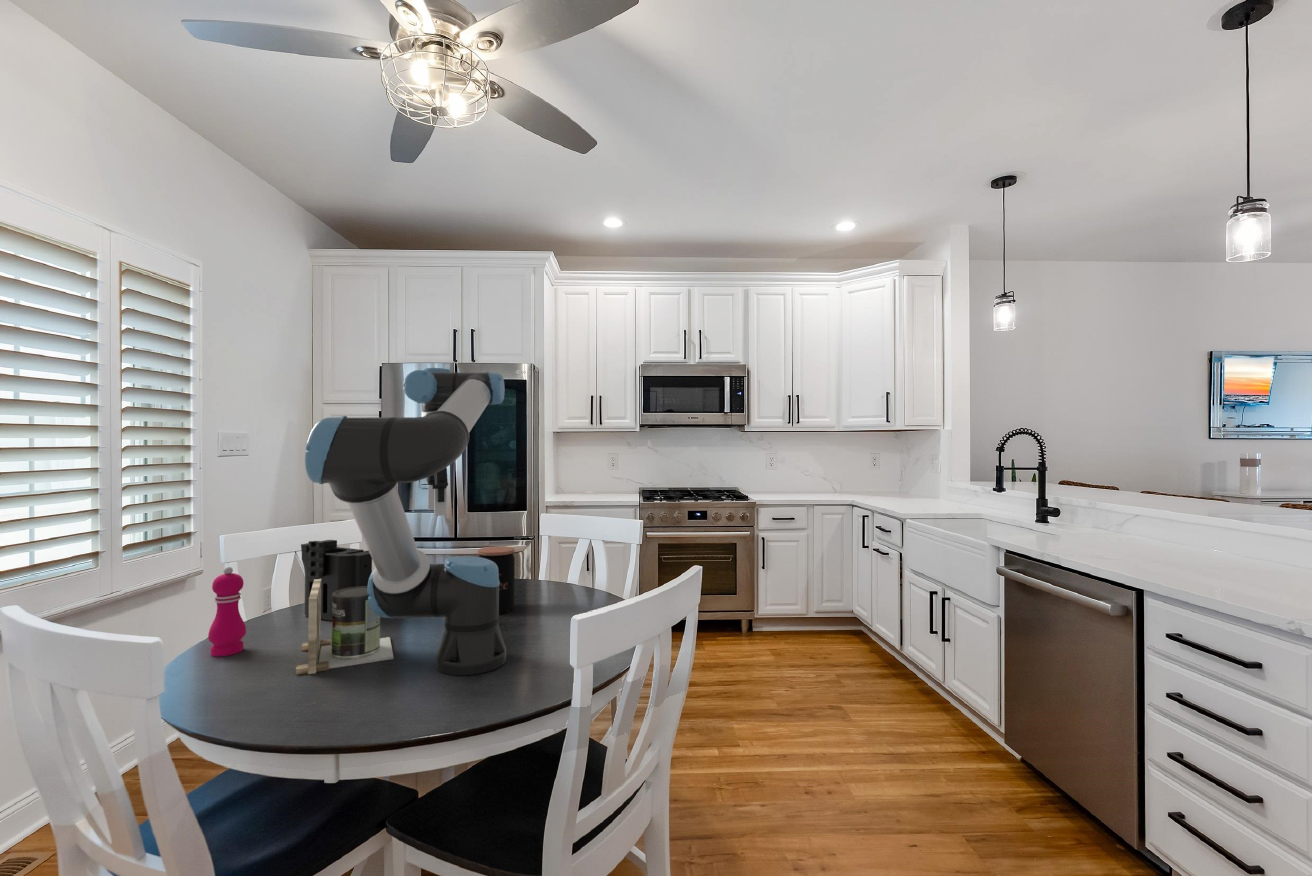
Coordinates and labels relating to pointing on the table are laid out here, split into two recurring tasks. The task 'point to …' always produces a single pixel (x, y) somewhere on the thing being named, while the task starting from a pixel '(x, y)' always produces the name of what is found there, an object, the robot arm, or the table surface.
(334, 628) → the coffee can
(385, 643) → the mat
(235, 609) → the pepper mill
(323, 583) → the black machined bracket
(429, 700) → the table surface
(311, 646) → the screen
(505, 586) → the coffee jar
